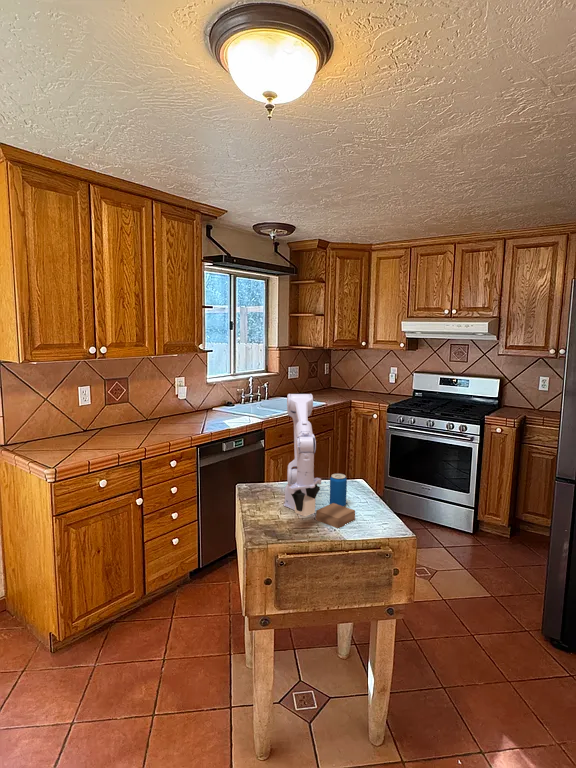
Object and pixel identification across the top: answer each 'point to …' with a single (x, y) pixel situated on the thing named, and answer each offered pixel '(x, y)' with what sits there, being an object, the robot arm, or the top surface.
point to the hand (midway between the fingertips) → (304, 508)
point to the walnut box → (335, 515)
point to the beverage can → (338, 489)
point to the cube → (307, 506)
